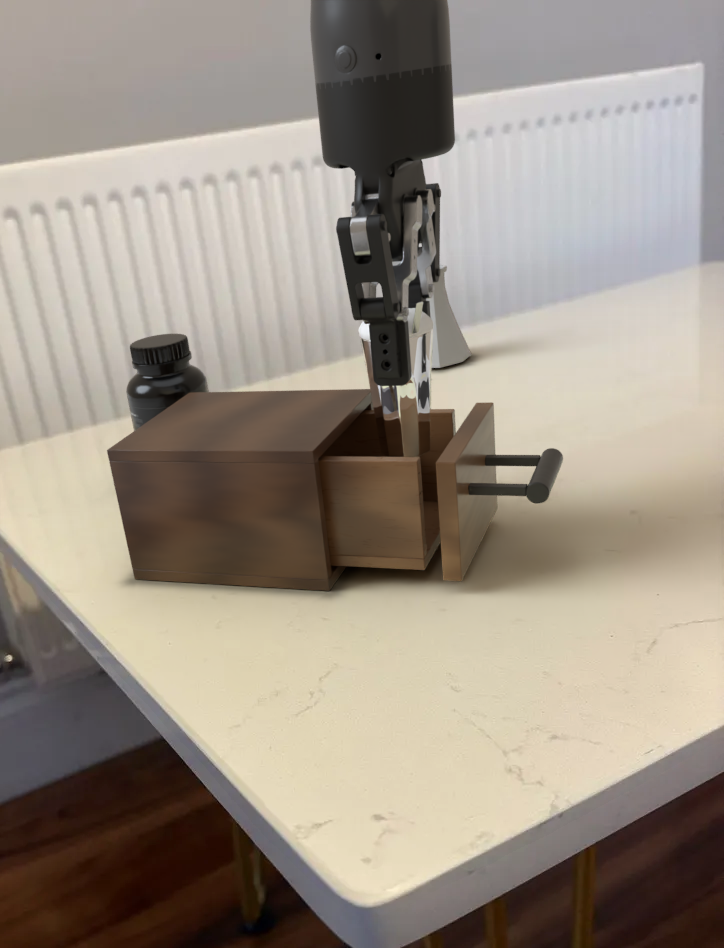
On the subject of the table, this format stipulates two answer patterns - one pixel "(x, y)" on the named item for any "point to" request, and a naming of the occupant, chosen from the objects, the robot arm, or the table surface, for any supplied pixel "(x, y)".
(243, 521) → the cabinet
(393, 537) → the drawer
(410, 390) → the milkshake
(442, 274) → the flask
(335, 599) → the table surface
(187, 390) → the supplement bottle
